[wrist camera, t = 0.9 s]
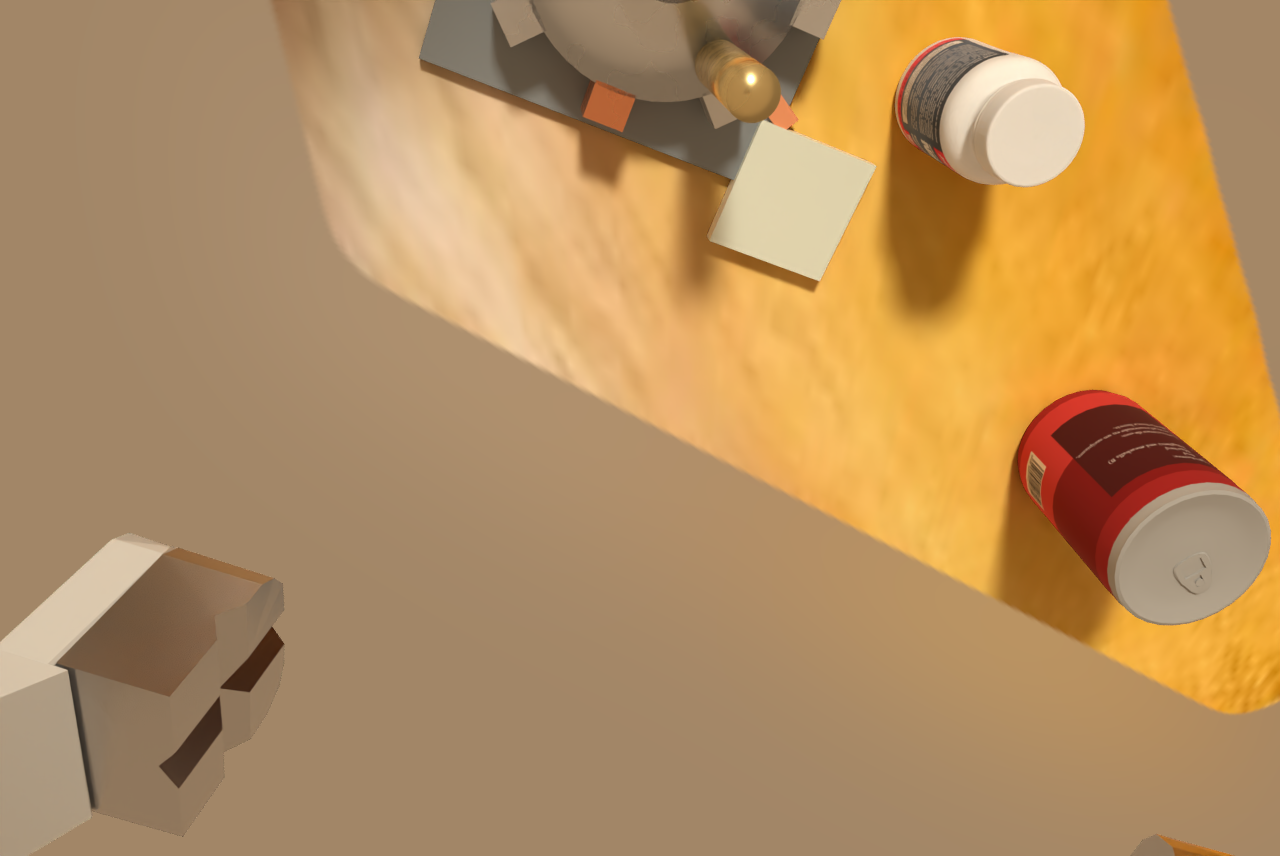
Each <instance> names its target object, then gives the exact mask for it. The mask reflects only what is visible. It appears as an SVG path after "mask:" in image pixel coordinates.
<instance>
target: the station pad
mask: <svg viewBox="0 0 1280 856" xmlns="http://www.w3.org/2000/svg"><path fill="white" fill-rule="evenodd" d="M875 168H876V166H875V165H874V164H873V163H871V162H869V161H867V160H864V159H862V158H859V157H857V156H854V155H852V154H849V153H847V152H844V151H842V150H840V149H837V148H835V147H832V146H830V145H827V144H825V143H822V142H820V141H818V140H815V139H813V138H810V137H808V136H805V135H803V134H800V133H798V132H796V131H793V130H791V129H784V128H782V127H779V126H777V125H774V124H773V123H771V122H768V121H766V120H763V121H761V122H759V124H758V126H757V129H756V131H755V133H754V135H753V138H752V140H751V142H750V145H749V147H748V149H747V152H746V154H745V156H744V158H743V161H742V163H741V165H740V168H739V170H738V172H737V174H736V177H735V179H734V180H732V179H731V181H730V183H729V185H728V188H727V190H726V192H725V195H724V197H723V199H722V202H721V204H720V206H719V208H718V211H717V213H716V215H715V218H714V220H713V222H712V224H711V227H710V229H709V231H708V234H707V238H708V239H709V241H711V242H714V243H716V244H719V245H722V246H725V247H727V248H730V249H733V250H736V251H738V252H741V253H744V254H746V255H749V256H752V257H755V258H757V259H760V260H763V261H766V262H768V263H771V264H774V265H776V266H779V267H782V268H785V269H787V270H790V271H793V272H796V273H798V274H801V275H804V276H806V277H809V278H812V279H815V280H817V281H820V280H821V278H822V276H823V274H824V272H825V270H826V268H827V266H828V263H829V261H830V259H831V257H832V255H833V253H834V251H835V249H836V247H837V245H838V243H839V241H840V239H841V237H842V235H843V233H844V231H845V229H846V227H847V225H848V223H849V221H850V219H851V217H852V215H853V213H854V211H855V209H856V207H857V205H858V203H859V201H860V199H861V197H862V195H863V193H864V191H865V189H866V187H867V185H868V183H869V180H870V178H871V176H872V174H873V172H874V170H875Z"/></svg>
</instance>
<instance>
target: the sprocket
mask: <svg viewBox="0 0 1280 856" xmlns="http://www.w3.org/2000/svg"><path fill="white" fill-rule="evenodd" d="M840 2H841V0H491V3H490V4H491V6H492V8H493V10H494V13H495V15H496V17H497V19H498V21H499V23H500V25H501V28H502V30H503V32H504V34H505V36H506V38H507V41H508V43H509V45H510V47H513V46H515V45H517V44H519V43H521V42H523V41H525V40H527V39H530V38H532V37H534V36H536V35H538V34H540V33H542V32H544V33H545V34H546V36H547V37H548V39H549V40H550V42H551V43H552V45H553V46H554V47H555V48H556V49H557V50H558V52H559V53H560V54H561V55H562V56H563V57H564V58H565V59H566V61H567V62H569V63H570V64H571V65H572V66H573V67H574V68H576V69H577V70H578V71H579V72H580V73H581V74H583V75H584V76H586V77H587V78H589V79H590V82H589V85H588V88H587V91H586V93H585V96H584V99H583V102H582V104H581V107H580V109H581V112H582V115H583V117H585V118H587V119H590V120H592V121H595V122H598V123H600V124H603V125H605V126H608V127H610V128H613V129H616V130H618V131H621V132H623V130H624V127H625V124H626V122H627V119H628V117H629V114H630V111H631V109H632V106H633V103H634V101H635V99H640V100H645V101H652V102H676V101H686V100H691V99H695V98H699V99H700V102H701V105H702V107H703V110H704V112H705V115H706V118H707V120H708V121H709V122H710V124H711V125H712V126H713V127H714V128H715V129H717V128H719V127H721V126H723V125H726V124H728V123H730V122H732V121H734V120H736V119H738V120H740V121H742V122H746V123H757V122H761V121H763V120H765V119H767V118H768V117H769V116H770V115H772V113H773V112H774V111H775V110H776V108H777V106H778V104H779V101H780V97H781V87H780V83H779V80H778V78H777V77H776V75H775V74H774V73H773V72H772V71H771V70H770V69H768V68H767V67H765V66H764V65H763V64H761V63H762V62H764V61H765V60H766V59H767V58H768V57H769V56H770V55H771V54H772V52H773V51H774V50H775V49H776V48H777V47H778V45H779V44H780V43H781V42H782V41H783V39H784V38H785V36H786V35H787V33H788V32H789V30H790V29H791V27H792V26H794V27H796V28H798V29H801V30H803V31H805V32H807V33H810V34H812V35H814V36H816V37H819V38H821V39H824V37H825V35H826V33H827V31H828V28H829V26H830V24H831V22H832V19H833V17H834V15H835V13H836V10H837V8H838V6H839V4H840Z"/></svg>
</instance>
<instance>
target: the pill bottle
mask: <svg viewBox="0 0 1280 856" xmlns="http://www.w3.org/2000/svg"><path fill="white" fill-rule="evenodd" d="M895 112H896V118H897V122H898V125H899V127H900V129H901V131H902V133H903V134H904V136H905V137H906V138H907V140H908V141H909V142H910V143H911V144H913V145H914V146H915V147H917V148H918V149H919V150H921V151H923V152H924V153H926V154H928V155H929V156H931V157H933V158H934V159H936V160H937V161H939V162H941V163H942V164H944V165H945V166H947V167H949V168H950V169H952V170H953V171H954V172H956V173H958V174H959V175H961V176H963V177H964V178H966V179H969V180H971V181H973V182H977V183H980V184H988V185H997V184H1006V183H1007V184H1009V185H1012V186H1018V187H1032V186H1037V185H1040V184H1043V183H1045V182H1048V181H1050V180H1052V179H1053V178H1055V177H1056V176H1058V175H1059V174H1060V173H1061V172H1063V171H1064V170H1065V169H1066V168H1067V167H1068V166H1069V164H1070V163H1071V162H1072V160H1073V159H1074V157H1075V156H1076V154H1077V152H1078V150H1079V148H1080V146H1081V143H1082V139H1083V135H1084V127H1085V122H1084V114H1083V111H1082V108H1081V106H1080V104H1079V102H1078V100H1077V99H1076V97H1075V96H1074V95H1073V94H1072V93H1071V92H1070V91H1068V90H1067V89H1065V88H1063V87H1062V86H1061V84H1060V82H1059V80H1058V79H1057V77H1056V76H1055V74H1054V73H1053V72H1052V71H1051V70H1050V69H1049V68H1048V67H1047V66H1045V65H1044V64H1042V63H1041V62H1039V61H1037V60H1034V59H1031V58H1029V57H1025V56H1022V55H1018V54H1014V53H1011V52H1007V51H1004V50H1001V49H998V48H996V47H993V46H990V45H988V44H985V43H982V42H980V41H977V40H974V39H970V38H963V37H954V38H947V39H943V40H940V41H938V42H935V43H933V44H931V45H930V46H928V47H926V48H925V49H924V50H922V51H921V52H920V53H919V54H918V55H917V56H916V57H915V58H914V59H913V60H912V61H911V62H910V64H909V65H908V66H907V68H906V69H905V71H904V73H903V75H902V77H901V79H900V82H899V84H898V87H897V91H896V97H895Z"/></svg>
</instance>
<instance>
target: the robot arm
mask: <svg viewBox="0 0 1280 856" xmlns="http://www.w3.org/2000/svg"><path fill="white" fill-rule="evenodd" d="M283 611H284V595H283V583H281V582H279V581H278V580H276V579H275V578H272V577H269V576H266V575H263V574H260V573H256V572H253V571H250V570H247V569H244V568H241V567H238V566H234V565H231V564H228V563H225V562H222V561H219V560H216V559H213V558H210V557H206V556H203V555H200V554H197V553H194V552H190V551H188V550H184V549H181V548H175V547H172V546H169V545H166V544H163V543H160V542H156V541H153V540H150V539H147V538H144V537H141V536H137V535H134V534H131V533H128V534H126V535H123V536H120V537H117V538H114V539H113V540H111V541H109V542H108V543H107V544H106V545H105V546H104V547H103V548H102V549H101V550H100V551H99V552H97V553H96V554H95V555H94V556H93V557H92V558H91V559H90V560H89V561H88V562H87V563H85V564H84V565H83V566H82V567H81V568H80V569H79V570H78V571H77V572H76V573H75V574H74V575H72V577H71V578H69V579H68V580H67V581H66V582H65V583H64V584H63V585H62V586H60V588H58V589H57V590H56V591H55V592H54V593H53V594H52V595H51V596H50V597H48V598H47V600H45V601H44V602H43V603H42V604H41V605H40V606H39V607H38V608H37V609H35V610H34V611H33V612H32V613H31V614H30V615H29V616H28V617H27V618H26V619H25V620H23V621H22V622H21V623H20V624H19V625H18V626H17V627H16V628H15V629H14V630H13V631H11V633H9V634H8V635H7V636H6V637H5V638H4V639H3V640H2V641H1V642H0V856H28V855H30V854H32V853H33V852H35V851H37V850H38V849H40V848H42V847H43V846H45V845H47V844H48V843H50V842H52V841H53V840H55V839H57V838H58V837H60V836H62V835H63V834H65V833H67V832H68V831H70V830H72V829H73V828H75V827H77V826H78V825H80V824H82V823H83V822H85V821H87V820H88V819H90V818H92V811H93V812H97V813H100V814H104V815H108V816H111V817H115V818H119V819H122V820H126V821H129V822H132V823H136V824H140V825H143V826H147V827H150V828H154V829H157V830H161V831H164V832H168V833H172V834H175V835H179V836H182V837H183V836H184V834H185V833H186V832H187V830H188V829H189V827H190V826H191V824H192V823H193V822H194V820H195V819H196V817H197V816H198V814H199V813H200V812H201V810H202V809H203V807H204V806H205V804H206V803H207V802H208V800H209V799H210V797H211V796H212V794H213V793H214V791H215V790H216V788H217V787H218V786H219V784H220V783H221V781H222V780H223V779H224V752H225V751H227V750H229V749H231V748H233V747H236V746H238V745H240V744H242V743H244V742H246V741H248V740H250V739H251V738H252V736H253V735H254V733H255V732H256V730H257V729H258V727H259V726H260V724H261V723H262V721H263V720H264V718H265V717H266V715H267V713H268V711H269V709H270V706H271V704H272V702H273V699H274V697H275V695H276V692H277V690H278V688H279V685H280V681H281V676H282V671H283V666H284V643H283V641H282V640H281V638H280V637H279V635H278V634H277V633H276V631H275V630H274V628H273V627H272V626H273V624H274V623H275V622H276V620H277V619H278V617H279V616H280V615H281V614H282V612H283ZM1131 856H1234V855H1230V854H1226V853H1223V852H1219V851H1215V850H1212V849H1209V848H1205V847H1201V846H1198V845H1194V844H1191V843H1187V842H1184V841H1180V840H1176V839H1173V838H1169V837H1166V836H1162V835H1158V834H1155V835H1153V836H1151V837H1149V838H1146V839H1144V840H1142V841H1141V843H1140V844H1139V845H1138V847H1137V848H1136V849H1135V850H1134V852H1133V853H1132V854H1131Z"/></svg>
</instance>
